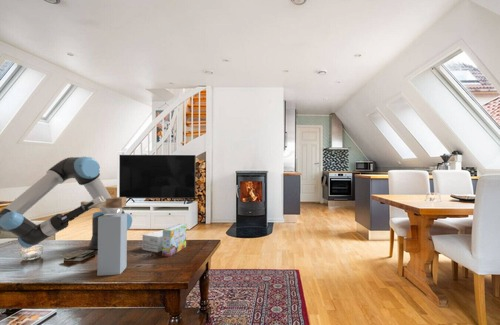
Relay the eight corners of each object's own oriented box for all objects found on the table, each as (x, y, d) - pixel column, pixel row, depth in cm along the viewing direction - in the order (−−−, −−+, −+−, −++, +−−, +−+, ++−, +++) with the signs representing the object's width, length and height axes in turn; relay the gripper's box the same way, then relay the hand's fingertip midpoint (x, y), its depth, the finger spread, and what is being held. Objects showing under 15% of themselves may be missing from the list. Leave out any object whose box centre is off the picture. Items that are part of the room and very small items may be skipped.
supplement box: (157, 252, 162) (157, 237, 162) (141, 250, 168) (142, 234, 168) (177, 245, 177) (177, 231, 177) (162, 243, 183) (162, 229, 183)
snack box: (170, 257, 153) (170, 230, 153) (161, 256, 154) (161, 229, 155) (186, 247, 174) (186, 223, 174) (178, 246, 175) (178, 223, 175)
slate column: (97, 275, 126) (98, 217, 127) (105, 268, 135) (106, 214, 136) (120, 274, 127) (120, 216, 128) (126, 266, 137) (127, 213, 138)
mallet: (78, 208, 127) (78, 199, 127) (85, 206, 134) (85, 197, 134) (121, 207, 130) (121, 198, 130) (126, 206, 137) (126, 197, 137)
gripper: (68, 227, 136) (111, 203, 140) (49, 235, 120) (99, 207, 124) (60, 215, 136) (104, 190, 140) (40, 220, 120) (90, 193, 124)
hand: (101, 198), depth 132 cm, fingers closed on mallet, 3 cm apart
